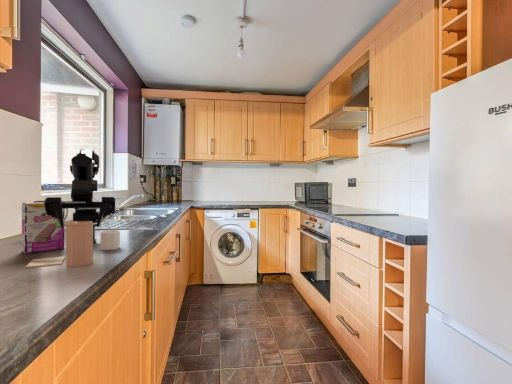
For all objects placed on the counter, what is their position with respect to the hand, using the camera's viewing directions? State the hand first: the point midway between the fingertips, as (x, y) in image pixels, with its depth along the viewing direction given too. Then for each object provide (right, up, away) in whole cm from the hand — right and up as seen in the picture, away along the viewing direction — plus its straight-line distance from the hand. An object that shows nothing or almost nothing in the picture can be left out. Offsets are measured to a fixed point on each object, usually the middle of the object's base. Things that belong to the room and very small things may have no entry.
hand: (80, 226), depth 84 cm
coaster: (-9, -10, -2) cm, 13 cm away
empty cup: (0, -10, +17) cm, 20 cm away
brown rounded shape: (+1, -10, -2) cm, 11 cm away
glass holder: (-35, -9, +37) cm, 52 cm away
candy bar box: (-20, -10, +12) cm, 25 cm away
